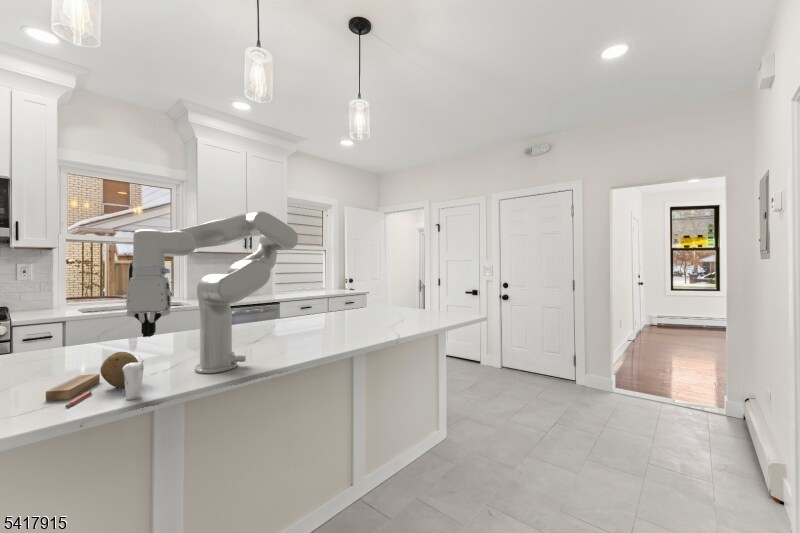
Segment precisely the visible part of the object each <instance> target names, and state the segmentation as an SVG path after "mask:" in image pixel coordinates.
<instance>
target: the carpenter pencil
mask: <svg viewBox="0 0 800 533" xmlns="http://www.w3.org/2000/svg"><path fill="white" fill-rule="evenodd" d="M91 395H92V391H87V392H84V393H83V394H82V395H80V396H78V397H76V398H74V399H73V400H70V401H69V402H68V403H67V404H65V406H64V407H65V408H67V409H68V408H70V407H72V406H74V405H76V404H77V403H79V402H81V401H83V400H84V399H86V398H88V397H90V396H91Z"/></svg>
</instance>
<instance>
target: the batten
mask: <svg viewBox="0 0 800 533" xmlns="http://www.w3.org/2000/svg"><path fill="white" fill-rule="evenodd" d="M100 377H101V373H95V374H94V373H93V374H79V375H77V376H75V377H74V378H71V379H69V380H67V381H65V382H62V383H61V384H58V385H57V386H54V387H53V388H50V389H47V390H46V391H45V402H55V401H66V400H67V401H69V400H71V399H73V398H74V397H76V396H78V395H80V394H82V393H84V392H85V391H87V390H89V389H90V388H93V386H96V385H98V384H99V383H101V382H100V381H101V379H100Z"/></svg>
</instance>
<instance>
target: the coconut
mask: <svg viewBox="0 0 800 533" xmlns="http://www.w3.org/2000/svg"><path fill="white" fill-rule="evenodd" d="M137 362H139V360H138V359H137V357H135V355H134V354H132V353H130V352H127V351H117V352H115V353H112V354H111V355H110V356H108V357H107V358H106V359H105V360H104V361H103V362H102V364H101V366H100V370H99V371H100V376H101V377H102V378H103V379H104V381H106V382H107V383H108V384H109V385H110V386H112V387H114V388H125V385H124V378H123V371H122V368H123V367H124V366H125V365H126V364H129V363H137Z"/></svg>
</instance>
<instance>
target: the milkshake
mask: <svg viewBox="0 0 800 533" xmlns="http://www.w3.org/2000/svg"><path fill="white" fill-rule="evenodd" d="M143 363H144V359H143V360H141V362H139V361H138V362H137V363H129V364H126V365H125V366H124V367H123V368H122V371H123V378H124V385H125V387H124V392H125V393H124V395H125V400H127V401H133V400H137V399H139V398H141V397H142V390H143V377H144V376H143V375H144V368H145V365H144V364H143Z"/></svg>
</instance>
